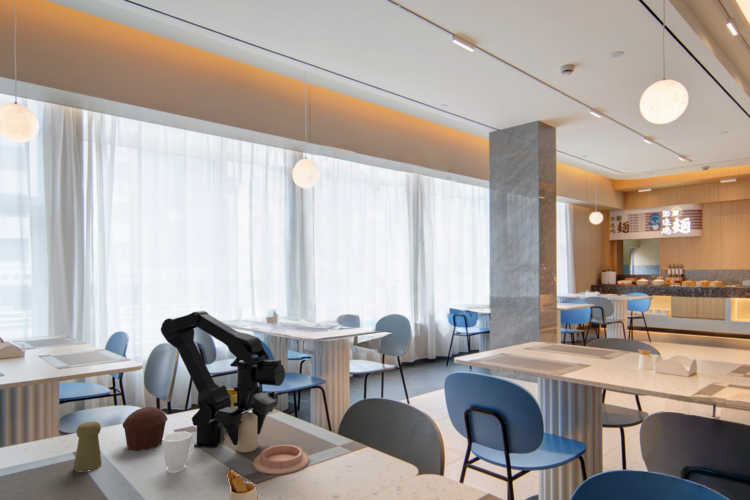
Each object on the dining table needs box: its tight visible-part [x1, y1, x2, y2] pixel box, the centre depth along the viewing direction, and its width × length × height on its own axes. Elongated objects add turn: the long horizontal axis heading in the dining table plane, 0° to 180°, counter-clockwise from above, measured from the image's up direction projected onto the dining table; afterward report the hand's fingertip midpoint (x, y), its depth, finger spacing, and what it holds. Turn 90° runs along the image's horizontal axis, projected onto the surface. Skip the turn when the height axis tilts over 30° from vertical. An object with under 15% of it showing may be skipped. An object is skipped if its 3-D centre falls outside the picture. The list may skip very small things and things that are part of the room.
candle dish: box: [253, 444, 310, 475], centre depth 116 cm, size 14×14×2 cm
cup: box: [161, 430, 194, 474], centre depth 113 cm, size 7×10×8 cm
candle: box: [236, 411, 258, 453], centre depth 125 cm, size 6×6×10 cm
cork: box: [73, 420, 103, 471], centre depth 113 cm, size 6×6×11 cm
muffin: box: [122, 406, 168, 452], centre depth 127 cm, size 12×11×10 cm
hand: (246, 439), depth 124 cm, fingers open, 9 cm apart
